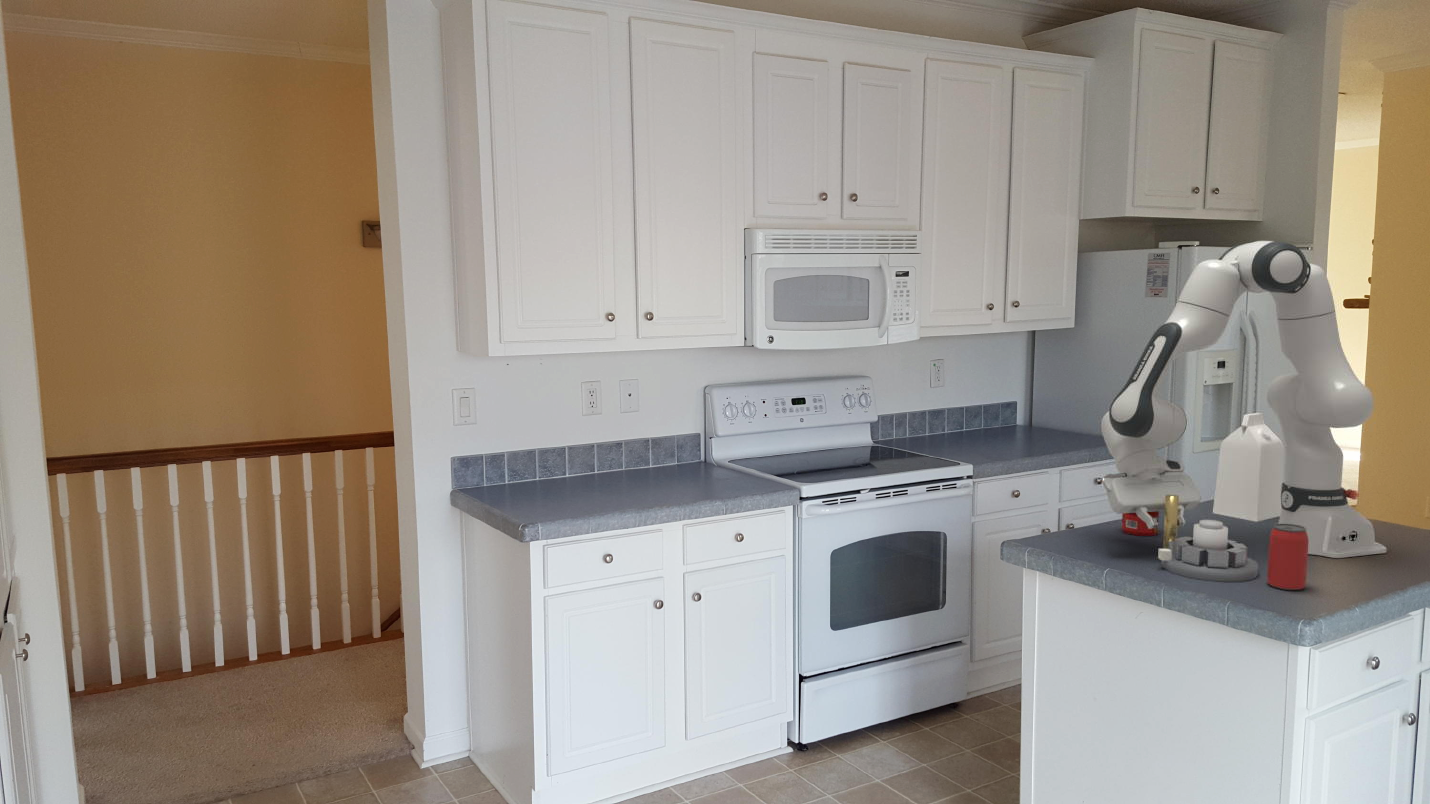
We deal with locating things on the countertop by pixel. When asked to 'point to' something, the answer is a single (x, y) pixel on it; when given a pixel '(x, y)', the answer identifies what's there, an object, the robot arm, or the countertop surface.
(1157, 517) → the canned food
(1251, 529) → the countertop surface
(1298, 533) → the beer can
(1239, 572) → the flange base
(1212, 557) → the gear with peg
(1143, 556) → the countertop surface
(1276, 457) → the milk
